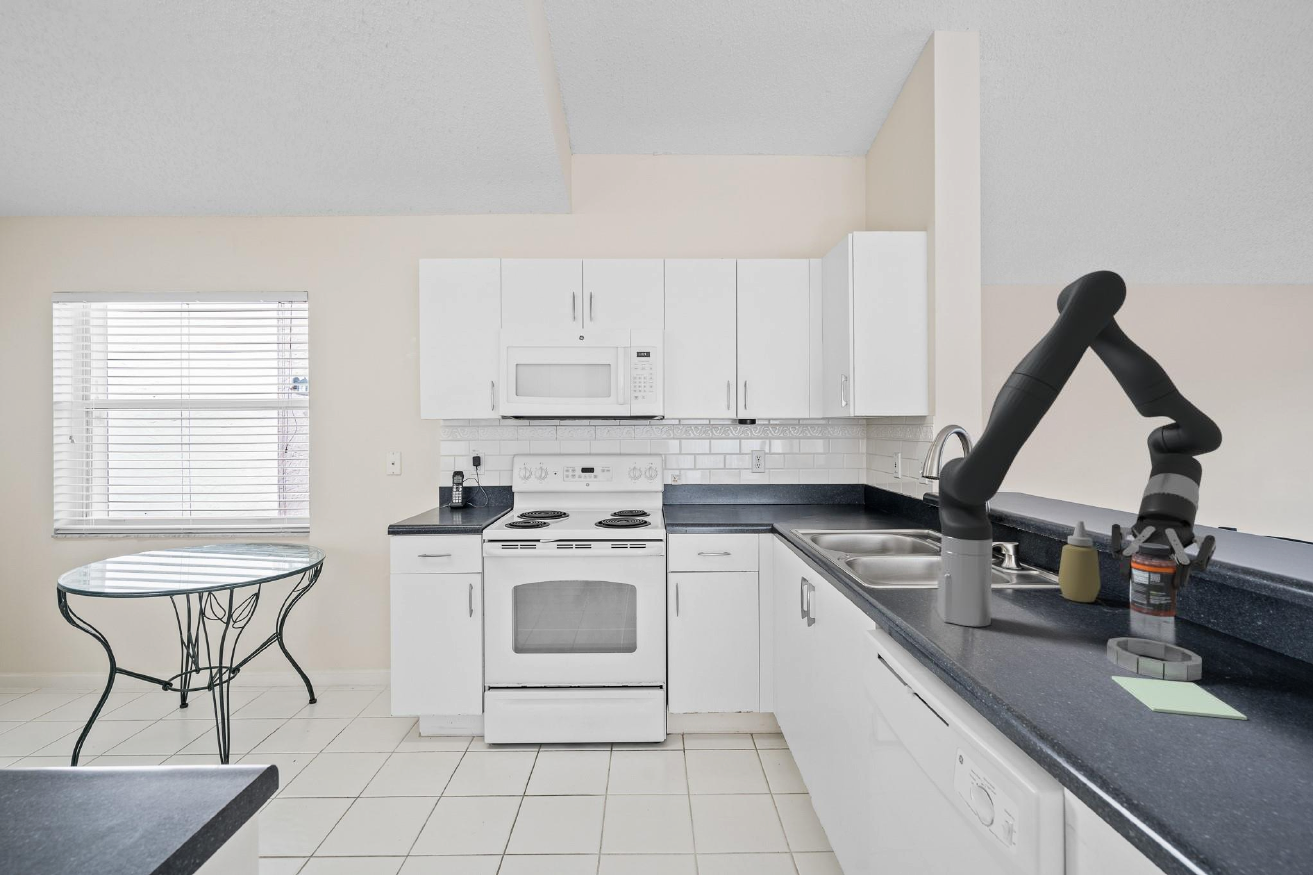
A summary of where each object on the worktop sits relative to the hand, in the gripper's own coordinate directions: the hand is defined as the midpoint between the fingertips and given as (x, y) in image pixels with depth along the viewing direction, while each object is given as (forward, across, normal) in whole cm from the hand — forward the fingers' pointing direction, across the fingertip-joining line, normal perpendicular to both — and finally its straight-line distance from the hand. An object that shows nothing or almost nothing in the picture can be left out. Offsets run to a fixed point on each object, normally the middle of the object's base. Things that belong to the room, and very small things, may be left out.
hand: (1151, 582), depth 98 cm
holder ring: (+9, 0, +11) cm, 14 cm away
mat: (+18, +5, +2) cm, 19 cm away
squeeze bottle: (-16, -19, +37) cm, 44 cm away
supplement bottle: (+3, 0, +5) cm, 6 cm away
